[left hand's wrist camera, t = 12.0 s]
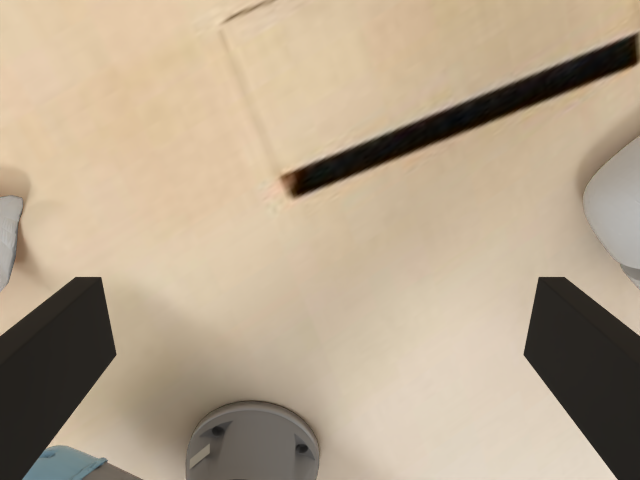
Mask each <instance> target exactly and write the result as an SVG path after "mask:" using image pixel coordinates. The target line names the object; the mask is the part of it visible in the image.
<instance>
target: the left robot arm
mask: <svg viewBox="0 0 640 480" xmlns="http://www.w3.org/2000/svg"><path fill="white" fill-rule="evenodd" d="M115 356H116V350H115V345H114V340H113V335H112V330H111V325H110V319H109V314H108V309H107V304H106V299H105V294H104V289H103V284H102V279H101V277H75V278H74V279H73V280H71V281H70V282H69V283H67V284H66V285H65V286H64V287H62V288H61V289H60V290H59V291H57V292H56V293H55V294H53V295H52V296H51V297H50V298H48V299H47V300H46V301H45V302H43V303H42V304H41V305H39V306H38V307H37V308H36V309H34V310H33V311H32V312H31V313H29V314H28V315H27V316H25V317H24V318H23V319H22V320H20V321H19V322H18V323H17V324H15V325H14V326H13V327H11V328H10V329H9V330H8V331H6V332H5V333H4V334H3V335H1V336H0V480H143V479H141V478H139V477H136V476H134V475H132V474H130V473H128V472H126V471H124V470H122V469H120V468H118V467H115V466H113V465H111V464H109V463H107V461H108V460H107V459H106V458H100V459H98V458H96V457H93V456H91V455H88V454H86V453H83V452H81V451H78V450H76V449H74V448H71V447H68V446H62V445H58V446H52V447H49V448H47V449H46V447H47V446H48V445H49V443H50V442H51V441H52V440H53V438H54V437H55V436H56V434H57V433H58V432H59V430H60V429H61V428H62V426H63V425H64V424H65V422H66V421H67V420H68V418H69V417H70V416H71V414H72V413H73V412H74V410H75V409H76V408H77V406H78V405H79V404H80V402H81V401H82V400H83V398H84V397H85V396H86V394H87V393H88V392H89V390H90V389H91V388H92V387H93V385H94V384H95V383H96V381H97V380H98V379H99V377H100V376H101V375H102V373H103V372H104V371H105V369H106V368H107V367H108V365H109V364H110V363H111V361H112V360H113V359H114V357H115ZM524 356H525V357H526V359H527V360H528V361H529V363H530V364H531V365H532V367H533V368H534V369H535V371H536V372H537V373H538V375H539V376H540V377H541V379H542V380H543V381H544V383H545V384H546V385H547V387H548V388H549V389H550V391H551V392H552V393H553V394H554V396H555V397H556V398H557V400H558V401H559V402H560V404H561V405H562V406H563V408H564V409H565V410H566V412H567V413H568V414H569V416H570V417H571V418H572V420H573V421H574V422H575V424H576V425H577V426H578V428H579V429H580V430H581V432H582V433H583V434H584V436H585V437H586V438H587V440H588V441H589V442H590V443H591V445H592V446H593V447H594V449H595V450H596V451H597V453H598V454H599V455H600V457H601V458H602V459H603V461H604V462H605V463H606V465H607V466H608V467H609V469H610V470H611V471H612V473H613V474H614V475H615V477H616V478H617V479H618V480H640V336H639V335H637V334H636V333H635V332H634V331H632V330H631V329H630V328H629V327H627V326H626V325H625V324H623V323H622V322H621V321H620V320H618V319H617V318H616V317H615V316H613V315H612V314H611V313H609V312H608V311H607V310H606V309H604V308H603V307H602V306H601V305H599V304H598V303H597V302H595V301H594V300H593V299H592V298H590V297H589V296H588V295H587V294H585V293H584V292H583V291H581V290H580V289H579V288H578V287H576V286H575V285H574V284H573V283H571V282H570V281H569V280H567V279H566V278H565V277H539V279H538V284H537V289H536V294H535V299H534V304H533V309H532V314H531V319H530V324H529V330H528V335H527V340H526V345H525V350H524ZM318 468H319V447H318V442H317V439H316V437H315V435H314V433H313V431H312V430H311V428H310V427H309V426H308V425H307V423H306V422H305V421H304V420H302V419H301V418H300V417H299V416H297V415H296V414H294V413H293V412H291V411H289V410H287V409H285V408H283V407H280V406H278V405H274V404H271V403H266V402H258V401H244V402H237V403H232V404H228V405H225V406H222V407H220V408H218V409H216V410H214V411H212V412H211V413H209V414H208V415H207V416H206V417H204V418H203V419H202V420H201V421H200V423H199V424H198V425H197V427H196V428H195V430H194V432H193V435H192V437H191V440H190V443H189V446H188V449H187V456H186V480H316V478H317V473H318Z"/></svg>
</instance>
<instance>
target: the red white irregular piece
mask: <svg viewBox="0 0 640 480" xmlns="http://www.w3.org/2000/svg"><path fill="white" fill-rule="evenodd" d="M22 209H23V199H22V197H17V196H13V195H10V196H3V197H0V292H1V291H2V290H3V289H4V287H5V286H6V285H7V284H8V282H9V279H10V275H11V271H12V268H13V264H14V261H15V257H16V246H17V234H18V222H19V219H20V216H21V213H22Z"/></svg>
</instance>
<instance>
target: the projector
mask: <svg viewBox="0 0 640 480" xmlns="http://www.w3.org/2000/svg"><path fill="white" fill-rule="evenodd" d="M583 207H584V213H585V216H586V218H587V221H588V223H589V224H590V226H591V228H592V230H593V231H594V233H595V235H596V236H597V238H598V239H599V241H600V242H601V243H602V245H603V246H604V247H605V249H606V250H607V251H608V253H609V254H610V255H611V256H612V257H613V258H614V259H615V260H616V261H617V262H619V263H620V265H621V268H622V270H623V271H624V273H625V274H626V275H627V276H628V277H629V279H630V280H631V281H632V282H633V283H634V284H635V285H636V286H637V287H638V288H639V289H640V135H639V136H638V137H637V138H635V139H634V140H633V141H632V142H630V143H629V144H628V145H626V146H625V147H624V148H623V149H621V150H620V151H619V152H618V153H617V154H615V155H614V156H613V157H612V158H611V159H610V160H609V161H608V162H606V163H605V164H604V165H603V166H602V167H601V168H600V169H599V170H598V171H597V172H596V174H595V175H594V176H593V177H592V178H591V180H590V181H589V183H588V184H587V186H586V188H585V191H584V195H583Z"/></svg>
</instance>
